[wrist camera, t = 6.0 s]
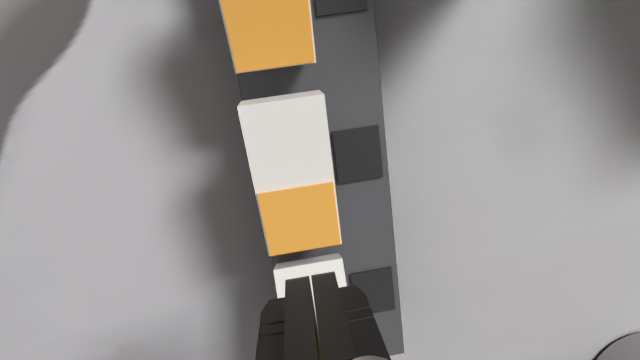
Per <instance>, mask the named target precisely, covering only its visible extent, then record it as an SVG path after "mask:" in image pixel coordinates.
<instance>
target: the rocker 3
mask: <svg viewBox="0 0 640 360" xmlns="http://www.w3.org/2000/svg"><path fill="white" fill-rule="evenodd" d="M333 271H334V272H335V275H336V279H337V283H338V287H339V288H340V287H346V286H347V284H346V278H345V271H344V265H343V259H342V257H341V256H340V254H339V253H335V254H330V255H324V256H318V257H312V258H307V259H301V260H295V261H289V262H283V263H278V264H276V265H275V267H274V270H273V272H274V278H275V285H276V291H277V298H283V297H285V280H287V279H293V278H299V277H305V276H309V278H310V284H311V290H312V296H313V302H314V295H313V287H312V279H311V275H316V274H322V273H328V272H333ZM314 309H315V303H314ZM315 315H316V311H315ZM316 321H317V319H316Z"/></svg>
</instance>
